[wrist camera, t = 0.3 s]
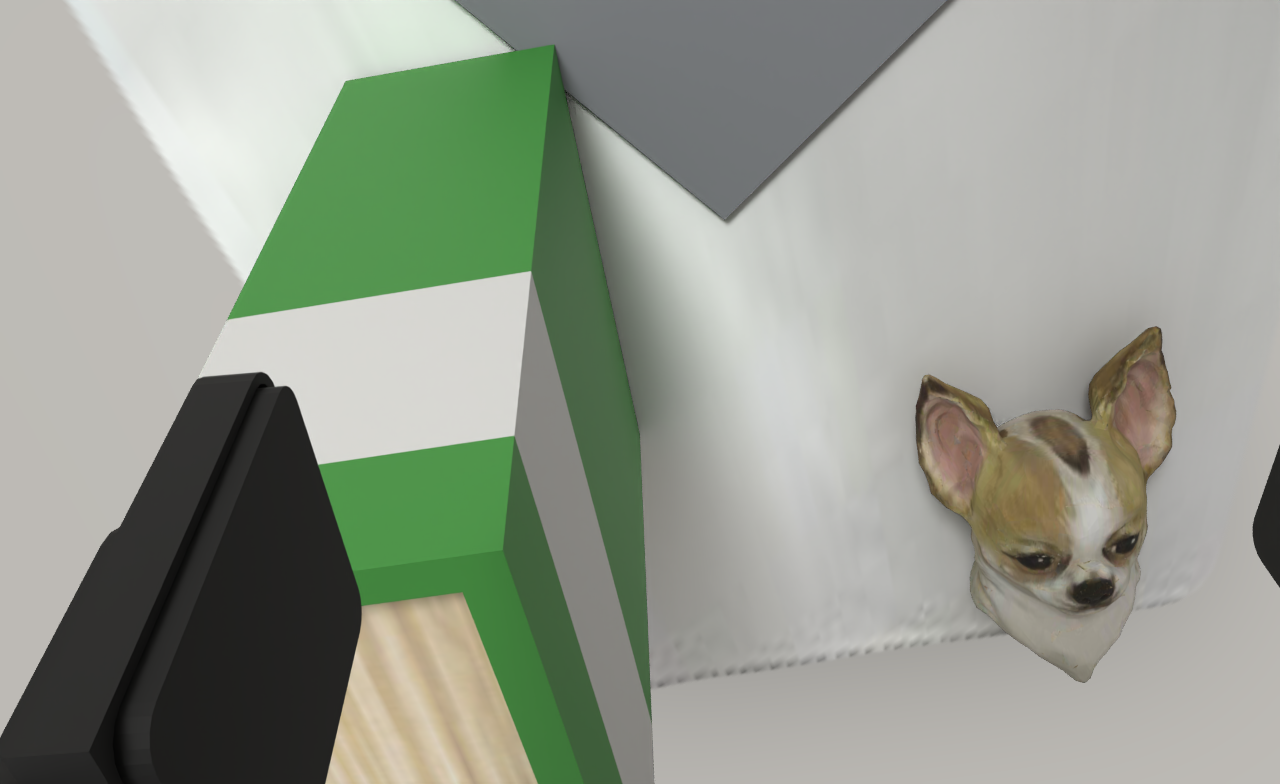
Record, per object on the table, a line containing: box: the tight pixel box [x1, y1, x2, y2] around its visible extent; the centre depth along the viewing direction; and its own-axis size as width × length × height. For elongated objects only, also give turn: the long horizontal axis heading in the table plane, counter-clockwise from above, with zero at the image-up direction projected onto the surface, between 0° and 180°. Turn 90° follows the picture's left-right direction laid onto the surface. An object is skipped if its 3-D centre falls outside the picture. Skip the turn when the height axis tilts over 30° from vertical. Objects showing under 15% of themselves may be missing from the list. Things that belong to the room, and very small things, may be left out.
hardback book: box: [198, 44, 654, 784], centre depth 33 cm, size 18×7×24 cm, turn 10°
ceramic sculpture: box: [915, 326, 1176, 683], centre depth 46 cm, size 11×9×15 cm
